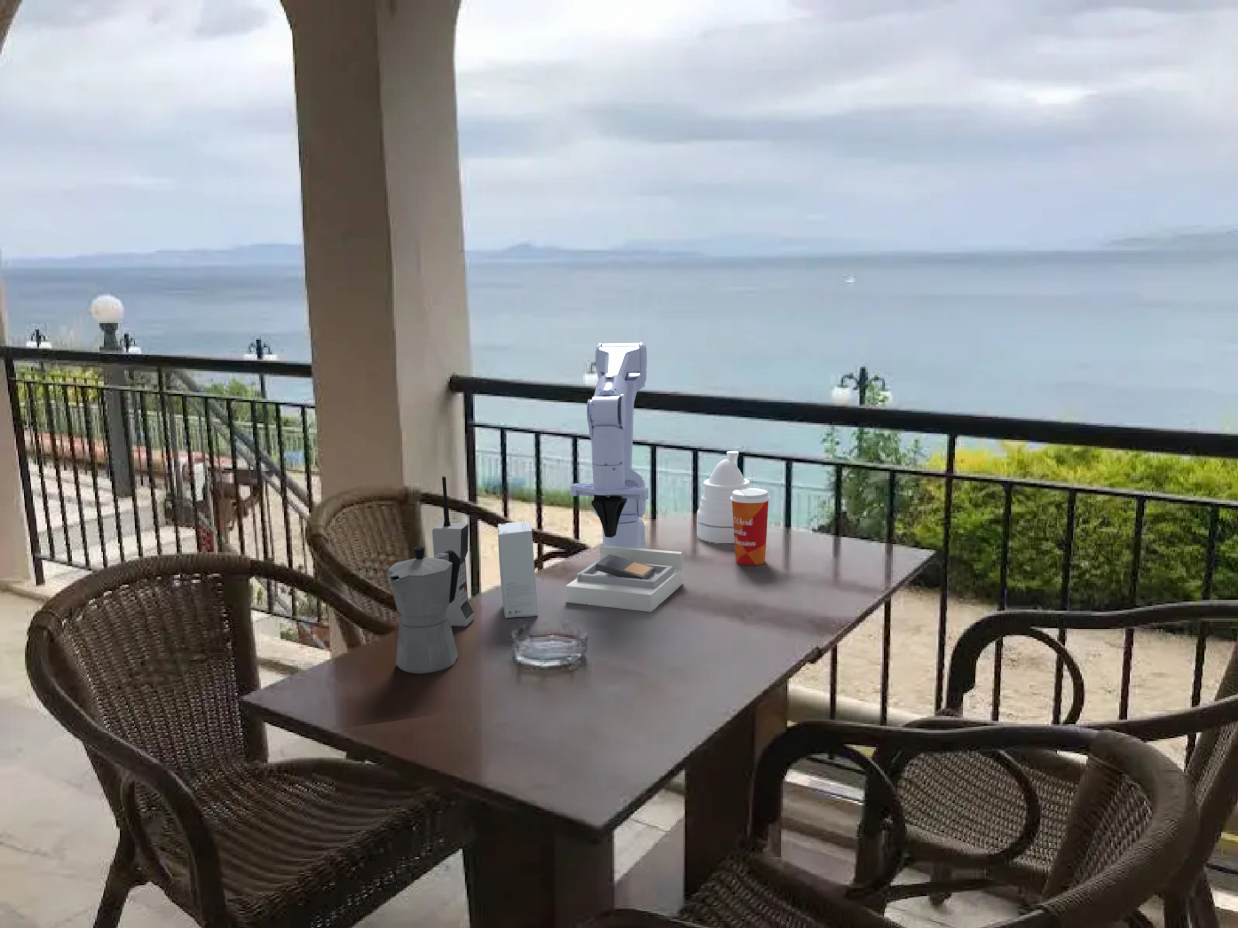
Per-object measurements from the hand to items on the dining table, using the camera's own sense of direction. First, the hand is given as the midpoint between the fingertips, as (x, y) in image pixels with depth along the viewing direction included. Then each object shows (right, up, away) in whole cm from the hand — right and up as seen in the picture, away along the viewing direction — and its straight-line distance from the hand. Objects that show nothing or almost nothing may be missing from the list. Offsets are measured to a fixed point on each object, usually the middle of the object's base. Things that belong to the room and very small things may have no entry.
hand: (610, 536), depth 183 cm
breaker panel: (+3, -10, -2) cm, 11 cm away
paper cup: (+27, -6, +14) cm, 31 cm away
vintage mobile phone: (-26, -14, -15) cm, 33 cm away
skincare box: (-16, -12, -10) cm, 22 cm away
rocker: (+3, -6, -3) cm, 7 cm away
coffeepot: (-27, -17, -30) cm, 44 cm away
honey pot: (+25, -3, +33) cm, 41 cm away
